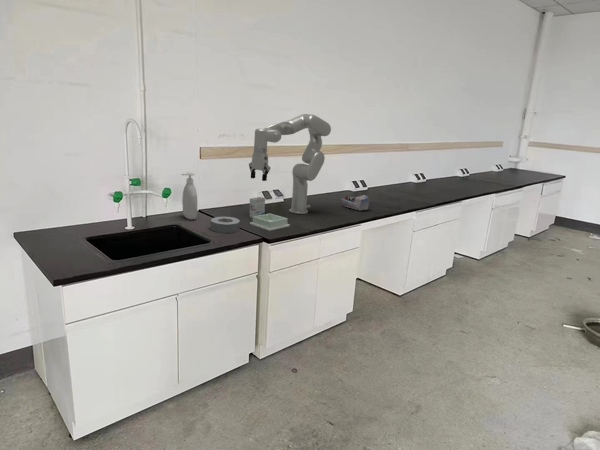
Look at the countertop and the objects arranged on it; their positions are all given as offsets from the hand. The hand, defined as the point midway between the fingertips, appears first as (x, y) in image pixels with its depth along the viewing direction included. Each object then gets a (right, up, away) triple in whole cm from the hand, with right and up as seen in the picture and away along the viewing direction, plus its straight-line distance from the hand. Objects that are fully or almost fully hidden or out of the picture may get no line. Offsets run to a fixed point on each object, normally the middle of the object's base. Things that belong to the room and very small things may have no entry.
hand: (258, 179), depth 244 cm
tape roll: (-16, -30, -23) cm, 41 cm away
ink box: (-2, -22, +6) cm, 23 cm away
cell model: (+64, -16, +49) cm, 82 cm away
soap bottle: (-40, -23, -7) cm, 47 cm away
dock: (+7, -27, -10) cm, 30 cm away
